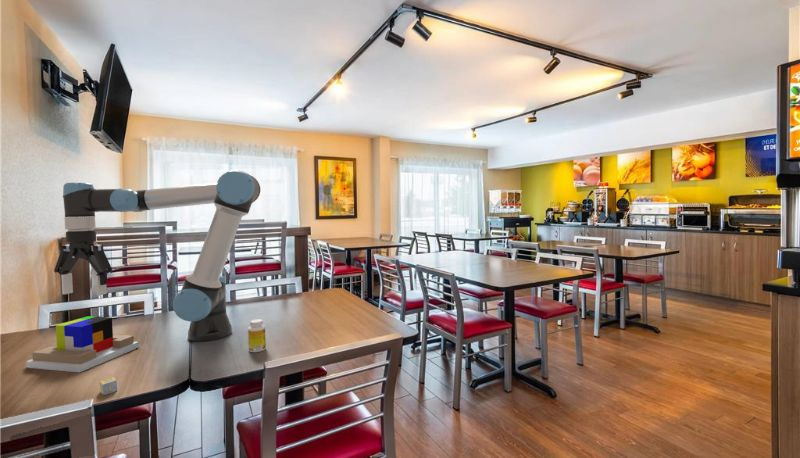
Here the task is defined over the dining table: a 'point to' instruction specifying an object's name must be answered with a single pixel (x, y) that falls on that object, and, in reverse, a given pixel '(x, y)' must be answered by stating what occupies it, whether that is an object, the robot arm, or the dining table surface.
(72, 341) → the puzzle toy
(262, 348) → the supplement bottle
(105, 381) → the alphabet block
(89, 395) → the dining table surface
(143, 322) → the dining table surface
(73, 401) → the dining table surface
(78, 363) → the foundation plate
